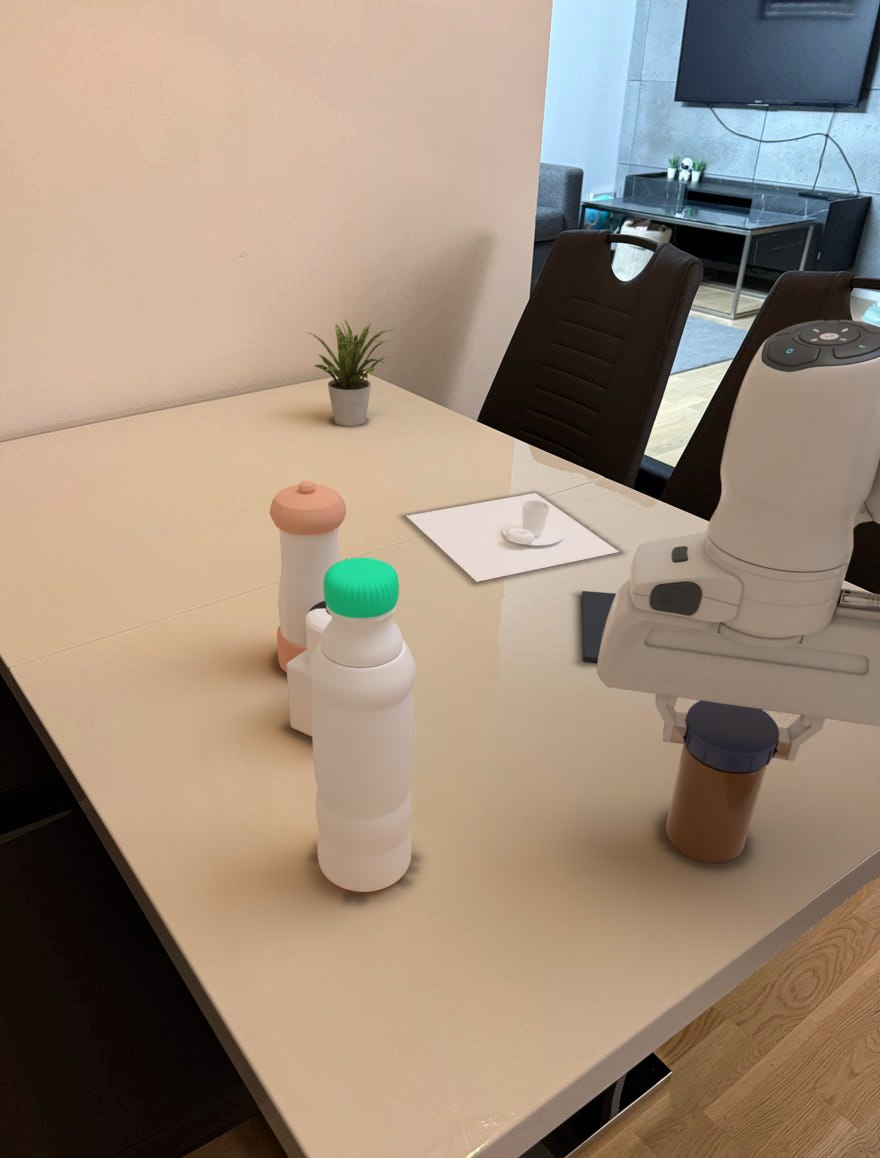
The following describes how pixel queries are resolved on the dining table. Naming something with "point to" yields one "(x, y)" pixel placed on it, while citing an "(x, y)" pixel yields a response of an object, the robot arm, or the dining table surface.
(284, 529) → the pepper shaker
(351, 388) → the house plant
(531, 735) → the dining table surface
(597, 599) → the mat
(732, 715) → the lid
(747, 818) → the jar
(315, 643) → the medicine bottle
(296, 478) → the dining table surface
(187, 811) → the dining table surface
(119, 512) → the dining table surface
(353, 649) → the water bottle
